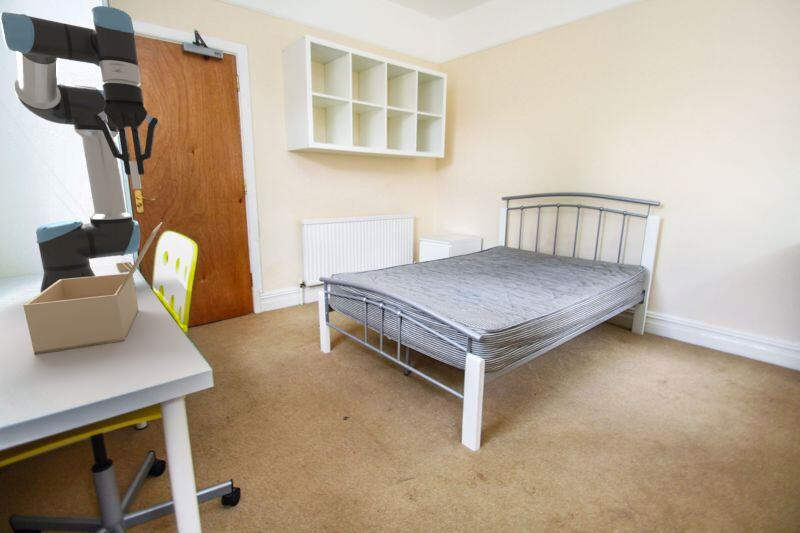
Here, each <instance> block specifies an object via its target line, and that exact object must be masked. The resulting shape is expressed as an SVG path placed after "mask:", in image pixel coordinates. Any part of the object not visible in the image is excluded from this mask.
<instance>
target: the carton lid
mask: <svg viewBox="0 0 800 533" xmlns="http://www.w3.org/2000/svg"><path fill="white" fill-rule="evenodd" d="M162 224H164V223H163V221H160V223H159V224H158V225H157V226H156V227H155V228H154V229H153V230H152V231H151V233H150V235H149V236H148V239H147V240H146V242H145V244H144V245H143V248H142V249H141V250H140V253H139V254H138V255H137V258H136V260H135V261H134V263H133V265H132V266H131V268H130V270H129V272H127V273H128V275H127V277H126V279H125V280H124V282H123V284H122V286H121V287H120V289H119V291H118V293H117V295H119V294H120V292H121V291H122V289H123V288H124V287H125V285H126V284H127V282H128V281H129V279H130V278H131V277H132V275H133V276H134V274H135V272H136V270H137V269H138V267H139V265H140V263H141V262H142V260H143V258H144V256H145V255H146V253H147V251H148V249H149V248H150V246H151V244H152V242H153V240H154V238H155V237H156V235H157V233H158V232H159V231H160V228H161V226H162Z"/></svg>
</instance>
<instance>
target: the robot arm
mask: <svg viewBox="0 0 800 533" xmlns="http://www.w3.org/2000/svg"><path fill="white" fill-rule="evenodd" d="M91 23H92V27H93V28H89V27H85V26H78V25H75V24H69V23H63V22H59V21H54V20H51V19H45V18H40V17H34V16H30V15H27V14H24V13H20V14H19V13H13V12H7V11H4V12H1V13H0V24H1V25H0V26H1V30H2V31H1V32H2V37H3V41H4V45H5V47H6V48H7V49H8V50H10V51H12V52H16V60H17V71H18V72H17V73H18V77H17V78H16V79H15V81H14V86H13V88H14V93H15V95H16V97H17V98H16V99H18V101H19V102H20V104H21V105H22V106H23V107H24V108H25V109H26V110H27V111H29V112H30V113H32V114H33V115H35V116H37V117H39V118H41V119H43V120H46V121H47V122H50V123H55V124H59V125H60V124H61V125H62V124H63V125H69V126H70V125H71V126H72V125H73V129H74V132H75V133H77V134H78V135H79V136H80V138H81V141H82V146H83V152H84V158H85V162H86V169H87V176H88V182H89V187H90V193H91V199H92V203H93V204H92V205H93V209H94V212H93V214H92V215H91V216H90V217H89V220H90V223H84V222H83V221H82V220H81V219H72V220H64V221H56V222H52V223H46V224H43V225H40V226H39V227H37V229H36V230H35V231H36V232H35V235H36V244H38V250H39V253H40V259H41V265H42V269H43V276H42V280H41V281H42V282H41V286H40V289H39V290H40V293H41V292H43V291H44V290H46V289H47V288H48V287H50V286H51V285H53V284H54V283H55V282H57V281H58V280H60V279H71V278H82V277H93V276H96V274H95V272H94V271H93V269H92V268H91V265H90V260H91V259H93V260H94V259H99V258H109V257H110V258H111V257H117V256H121V257H123V256H126V255H127V256H128V255H132V254H135V253H137V252H138V251H139V249H140V244H141V229H140V224H139V222H138V221H137V220H135V219H133V216H132V215H131V214H130V213H128V212H127V211H126V203H125V198H124V192H123V184H122V178H121V171H120V164H119V160H121V161H123V162H122V163H123V167H124V173H125V175H126V176H130V178H131V183H132V190H140V189H141V190H142V181H141V175H142V176H144V175H145V174H146V173H145V164H144V161H146V160H149V159H151V158H152V153H153V144H154V138H155V131H156V128H157V127H158V124H159V119H158V118H157V117H153V116H152V115H150V114H149V113H148V111H147V109H146V108H145V103H144V96H143V91H142V90H143V89H142V88H141V87H140V86H141V85H142V81H141V74H140V67H139V62H138V53H137V52H138V51H137V47H136V46H137V45H136V39H135V31H136V30H134V25H133V24H134V23H133V20H132V17H131V16H130V15H129V13H127V12H126V11H124V10H121V9H119V8H116V7H111V6H105V5H103V6H101V5H97V6H94V7H92V8H91ZM60 60H66V61H67V60H69V61H74V62H81V63H86V64H94V65H96V66H97V67H98V68H99V71H100V72H99V73H100V79H101V81H102V82H103V84H102V88H100V87H93V86H87V85H86V86H84V85H75V84H67V83H66V84H65V83H59V82H58V77H59V67H60V65H59V64H60ZM145 120H146V124H147V125H148V126H147V132H146V139H145V146H144V153H143V151H142V144H141V136H140V135H141V134H140V129H139V128H140V127H141V125H142V124H143V123H144V121H145ZM127 128H130V130H131V134H132V135H131V137H132V144H133V150H134V155H135V160H132V159H131V154H130V148H129V142H128V140H129V139H128V133H127ZM118 136H119V142H120V143H119V144H120V150H121V153H120V150H119V147H118V145H117V143H116V138H117V137H118Z"/></svg>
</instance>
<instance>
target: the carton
mask: <svg viewBox="0 0 800 533" xmlns="http://www.w3.org/2000/svg"><path fill="white" fill-rule="evenodd" d="M128 273H129V272H126V273H116V274H106V275H95V276H93V277H82V278H71V279H60V280H58V281H57V282H55V283H54V284H53V285H51V286H50V287H48V288H47V289H46V290H44V291H43V292H40V293H38V294H37V295H36V296H34V297H33V298H31V299H30V300H29V301H27V302H26V303H25V304H23V305H22V306H23V309H24V314H25V317H26V323H27V328H28V332H29V335H30V341H31V345H32V349H33V350H32V351H33V355H42V354H47V353H52V352H59V351H66V350H73V349H80V348H86V347H93V346H99V345H105V343H106V344H112V343H118V342H119V343H120V342H125V340H126V338H127V336H128V334H129V332H130V330H131V328H132V325H133V324H134V322H135V319H136V317H137V315H138V313H139V304H138V297H137V292H136V286H135V280H134V274H133V275H132V277H131V278H130V279H129V281H128V282H127V284H126V285H125V287H124V288H123V289H122V291H121V292H120V294H119V295H117V293H118V291H119V289H120V287H121V286H122V284H123V282H124V280H125V279H126V277H127V275H128Z"/></svg>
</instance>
